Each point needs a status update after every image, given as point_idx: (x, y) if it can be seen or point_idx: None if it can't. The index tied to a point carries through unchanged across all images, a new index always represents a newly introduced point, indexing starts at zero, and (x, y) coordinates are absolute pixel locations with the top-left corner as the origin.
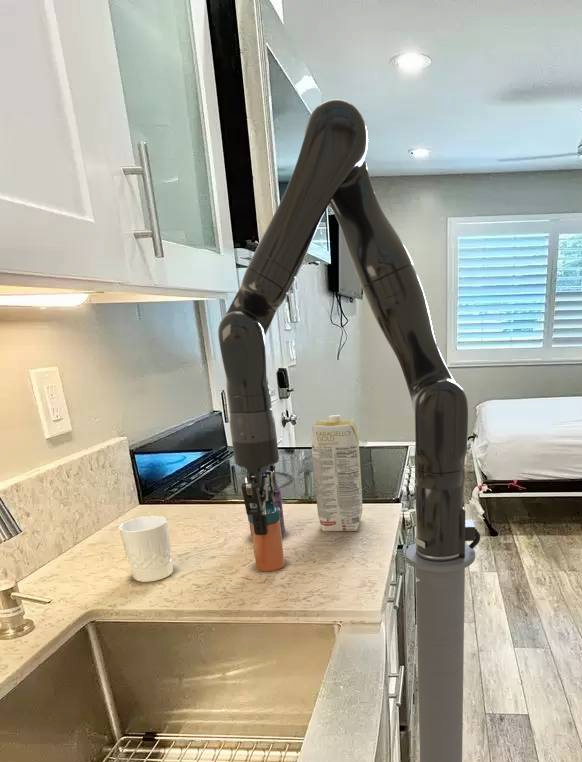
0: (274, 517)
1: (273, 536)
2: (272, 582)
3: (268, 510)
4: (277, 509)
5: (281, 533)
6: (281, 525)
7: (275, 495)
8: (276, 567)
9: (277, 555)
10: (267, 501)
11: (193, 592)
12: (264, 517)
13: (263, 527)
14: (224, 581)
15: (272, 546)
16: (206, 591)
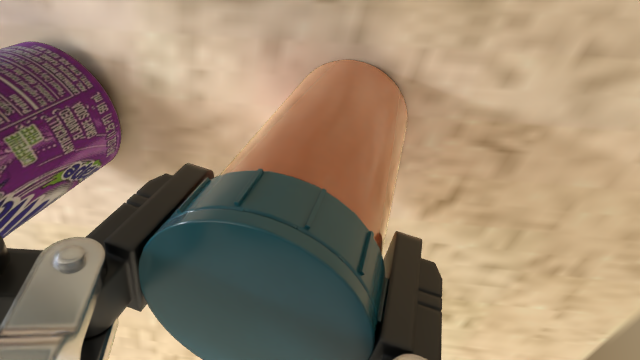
0: (353, 244)
1: (381, 177)
2: (529, 122)
3: (279, 299)
4: (265, 241)
5: (69, 61)
6: (33, 68)
7: (2, 245)
8: (402, 101)
9: (390, 112)
10: (115, 292)
11: (478, 330)
12: (412, 335)
13: (424, 285)
14: (434, 261)
15: (392, 157)
16: (489, 306)
